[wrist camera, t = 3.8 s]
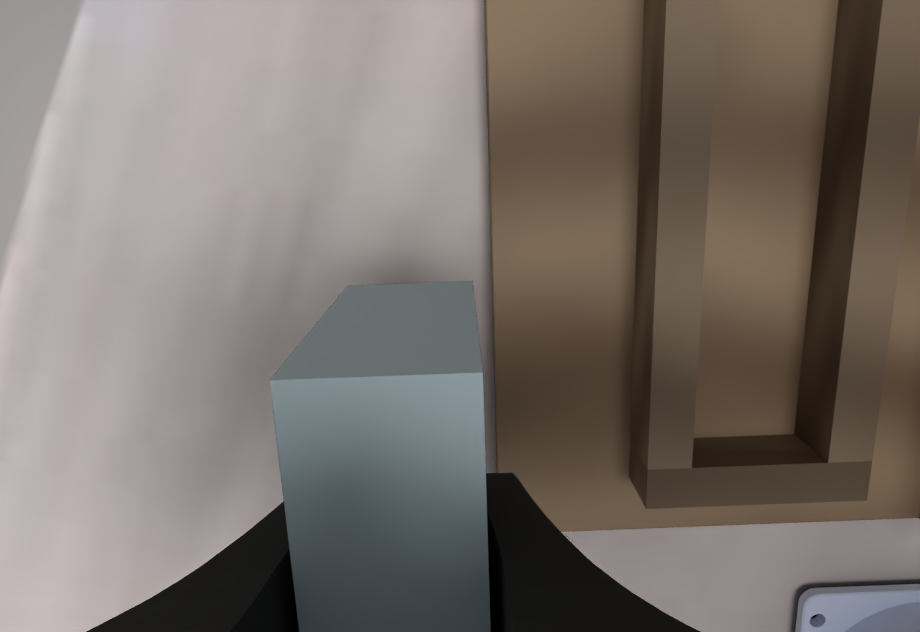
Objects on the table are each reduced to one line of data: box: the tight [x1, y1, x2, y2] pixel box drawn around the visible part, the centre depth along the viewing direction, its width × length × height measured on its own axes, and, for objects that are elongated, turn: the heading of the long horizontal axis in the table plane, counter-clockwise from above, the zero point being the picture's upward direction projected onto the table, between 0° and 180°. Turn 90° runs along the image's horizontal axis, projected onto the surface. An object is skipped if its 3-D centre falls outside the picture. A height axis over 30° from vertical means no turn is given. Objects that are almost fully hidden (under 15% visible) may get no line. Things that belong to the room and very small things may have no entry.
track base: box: [485, 0, 920, 532], centre depth 16 cm, size 22×14×5 cm, turn 2°
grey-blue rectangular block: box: [270, 281, 491, 632], centre depth 11 cm, size 8×3×6 cm, turn 2°
